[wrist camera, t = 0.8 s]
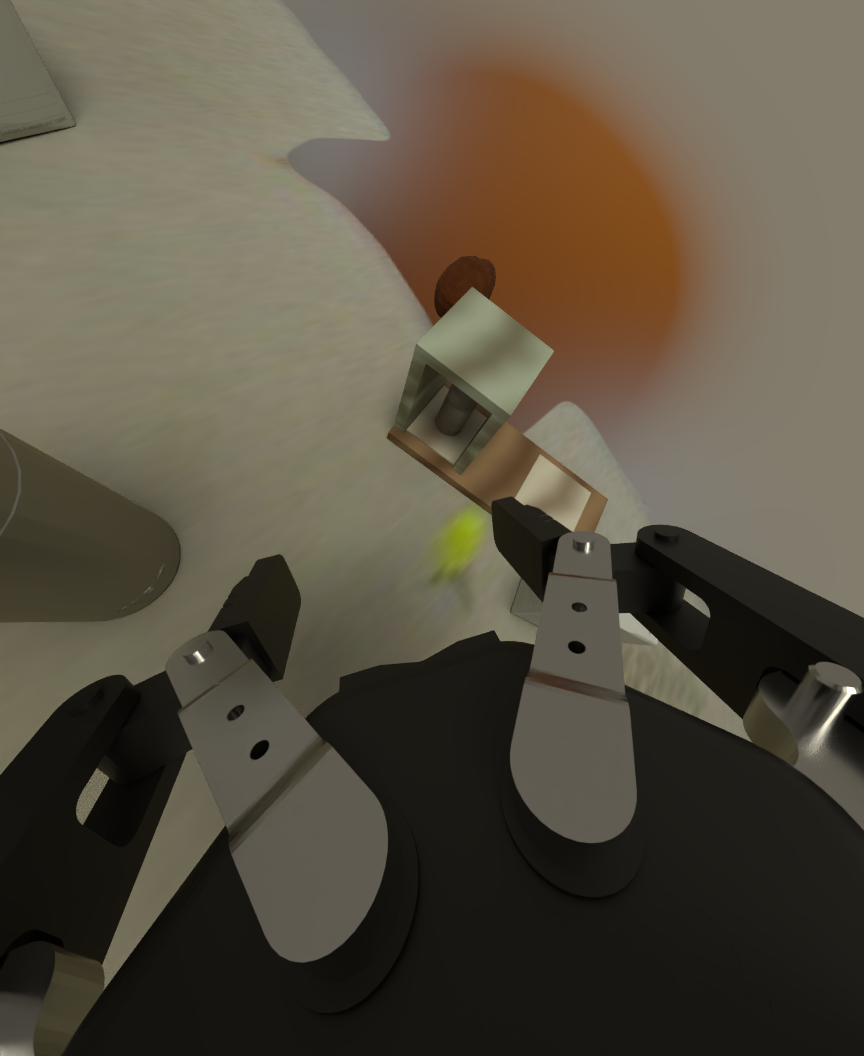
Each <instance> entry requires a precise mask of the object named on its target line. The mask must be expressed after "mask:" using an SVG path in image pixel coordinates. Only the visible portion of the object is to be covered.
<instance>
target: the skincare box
mask: <svg viewBox="0 0 864 1056" xmlns="http://www.w3.org/2000/svg"><path fill="white" fill-rule="evenodd" d="M542 606H543V602H541V600H540V599H539V598H538V597H537V596H536V595H535V593H534V592H533V591H532V590H531V589H530V587H529V586H528V585H527V584H526V583H525V581H524V580H523V579H522V580H521V582H520V585H519V588H518V591H517V594H516V597H515V600H514V603H513V606H512V609H511V612H512V613H513V614H515V615H517V616H519V617H521V618H523V619H525V620H527V621H528V622H530V623H532V624H534V625H536V626H539V621H540V616H541V611H542ZM619 622H620V635H621V643H630V644H639V645H650V646H656V645H657V644H658V639H657V638H655V637H654V636H653V635H652V634H651V633H650V632H649V631H648V630H647V629H646V628H645V627H644V626H643V625H642V624H641V623H640V622H638V621H637V620H636V619H635V618H634V617H633V616H632V615H631V614H630V613H619Z"/></svg>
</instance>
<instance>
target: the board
mask: <svg viewBox="0 0 864 1056" xmlns="http://www.w3.org/2000/svg"><path fill="white" fill-rule="evenodd" d="M553 352H554V351H553V350H552V349H551V348H550V347H548V346H547V345H545V344H544V343H543V342H542V341H541V340H539V339H538V338H537V337H536V336H534V335H533V334H532V333H531V332H529V331H528V330H527V329H525V328H524V327H523V326H521V325H520V324H519V323H518V322H517V321H515V320H514V319H513V318H511V317H510V316H509V315H508V314H506V313H505V312H504V311H502V310H501V309H500V308H499V307H497V306H496V305H495V304H494V303H492V302H491V301H490V300H489V299H487V298H486V297H485V296H484V295H482V294H481V293H480V292H478V291H477V290H476V289H475V288H473V287H472V288H471V289H470V290H469V291H468V292H467V293H466V294H465V295H464V296H463V297H462V298H461V299H460V300H459V301H458V302H457V303H456V304H455V305H454V306H453V307H452V308H451V309H450V310H449V311H448V312H447V313H446V314H445V315H444V316H443V317H442V318H441V319H440V320H439V321H438V322H437V323H436V324H435V325H434V326H433V327H432V328H431V329H430V330H429V331H428V332H427V333H426V334H425V335H424V336H423V337H422V338H421V339H420V340H419V341H418V342H417V343H416V347H415V350H414V354H413V358H412V361H411V365H410V369H409V372H408V376H407V380H406V384H405V387H404V391H403V395H402V398H401V402H400V406H399V409H398V413H397V417H396V421H395V424H394V427H393V428H392V429H391V430H390V431H389V433H388V437H387V439H389V440H390V441H392V442H393V443H394V444H396V445H397V446H398V447H400V448H401V449H403V450H404V451H405V452H407V453H408V454H409V455H411V456H412V457H413V458H415V459H416V460H418V461H419V462H420V463H422V464H423V465H424V466H426V467H427V468H428V469H430V470H431V471H433V472H434V473H435V474H437V475H438V476H439V477H441V478H442V479H444V480H445V481H446V482H448V483H449V484H450V485H452V486H453V487H454V488H456V489H457V490H459V491H460V492H461V493H463V494H464V495H465V496H467V497H468V498H470V499H471V500H472V501H474V502H475V503H476V504H478V505H479V506H480V507H482V508H483V509H485V510H486V511H487V512H489V513H490V514H491V515H492V511H491V503H492V501H494V500H498V499H502V498H505V497H509V496H512V497H513V498H515V499H516V500H517V501H519V502H520V503H521V504H523V505H530V506H533V507H537V508H539V509H541V510H542V511H544V512H545V513H546V514H547V515H549V516H551V517H552V518H553V519H554V520H556V521H558V522H559V523H561V524H562V525H564V526H565V527H566V528H568V529H569V530H571V531H572V532H575V531H587V532H593V533H594V531H595V529H596V527H597V524H598V522H599V520H600V517H601V515H602V513H603V510H604V508H605V505H606V503H607V501H608V499H607V498H606V497H604V496H603V495H602V494H600V493H599V492H598V491H596V490H595V489H594V488H592V487H591V486H590V485H589V484H587V483H586V482H585V481H583V480H582V479H581V478H579V477H578V476H577V475H575V474H574V473H573V472H571V471H570V470H569V469H567V468H566V467H565V466H563V465H562V464H561V463H560V462H558V461H557V460H556V459H554V458H553V457H552V456H550V455H549V454H548V453H546V452H545V451H544V450H542V449H541V448H540V447H538V446H537V445H536V444H534V443H533V442H532V441H531V440H529V439H528V438H527V437H525V436H524V435H523V434H521V433H520V432H519V431H517V430H516V429H515V428H513V427H512V426H511V425H509V424H508V423H507V422H506V420H507V419H508V418H509V417H510V415H511V414H512V412H513V411H514V410H515V408H516V407H517V405H518V404H519V402H520V401H521V399H522V398H523V396H524V394H525V393H526V392H527V390H528V389H529V387H530V386H531V384H532V383H533V381H534V380H535V378H536V377H537V375H538V374H539V372H540V371H541V369H542V368H543V366H544V365H545V363H546V362H547V360H548V359H549V358H550V356H551V354H552V353H553Z"/></svg>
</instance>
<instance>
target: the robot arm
mask: <svg viewBox="0 0 864 1056" xmlns="http://www.w3.org/2000/svg"><path fill="white" fill-rule="evenodd" d="M491 511H492V522H493V533H494V540H495V544H496V546H497V548H498V550H499V552H500V553H501V554H502V555H503V556H504V558H505V559H506V560H507V561H508V562H509V564H510V565H511V566H512V567H513V568H514V569H515V571H516V572H517V573H518V574H519V575H520V577H521V578H522V579H523V580H524V581H525V583H526V584H527V585H528V586H529V587H530V589H531V590H532V591H533V592H534V593H535V595H536V596H537V597H538V598H539V599H540V600H541V602H543V606H542V611H541V616H540V621H539V626H538V631H537V636H536V641H535V645H533V644H528V643H524V642H516V641H500V640H499V638H498V636H497V635H496V633H495V631H494V630H493V631H490V632H487V633H483V634H480V635H477V636H474V637H470V638H467V639H464V640H461V641H458V642H456V643H454V644H452V645H450V646H449V647H447V648H445V649H443V650H442V651H440V652H438V653H436V654H434V655H433V656H431V657H429V658H427V659H425V660H423V661H420V662H412V663H400V664H389V665H379V666H376V667H372V668H369V669H366V670H362V671H359V672H356V673H353V674H349V675H346V676H343V677H340V688H339V692H338V693H336V694H334V695H333V696H331V697H330V698H328V699H327V700H325V701H324V702H323V703H322V704H320V705H319V706H318V707H317V708H316V709H315V710H314V711H312V712H311V713H310V714H309V715H308V716H307V717H306V719H304V718H303V717H302V715H301V714H300V713H299V712H298V711H297V710H296V709H295V707H294V706H293V705H292V704H291V703H290V702H289V701H288V699H287V698H286V697H285V696H284V695H283V694H282V693H281V691H280V690H279V689H278V688H277V687H276V686H275V684H274V683H273V682H275V681H278V680H281V679H283V676H284V672H285V668H286V663H287V659H288V655H289V651H290V647H291V643H292V639H293V635H294V630H295V626H296V622H297V618H298V614H299V610H300V606H301V597H300V592H299V589H298V587H297V585H296V583H295V580H294V578H293V576H292V574H291V572H290V570H289V567H288V565H287V563H286V561H285V559H284V557H283V556H282V555H280V554H279V555H275V556H271V557H267V558H263V559H259V560H257V561H256V563H255V565H254V566H253V568H252V570H251V572H250V574H249V576H246V577H244V578H243V579H242V580H241V581H240V582H239V583H238V584H237V585H236V586H235V587H234V588H233V589H232V591H231V593H230V595H229V596H228V599H227V600H226V601H225V603H224V605H223V608H221V610H220V612H219V613H218V615H217V617H216V618H215V620H214V622H213V624H212V625H211V627H210V629H209V630H208V632H206V633H203V634H201V635H199V636H197V637H195V638H193V639H191V640H189V641H188V642H186V643H185V644H184V645H182V646H181V647H180V648H179V649H177V650H176V651H175V652H174V653H173V654H172V656H171V657H170V658H169V660H168V661H167V664H166V667H165V669H166V671H164V672H161V673H159V674H157V675H155V676H153V677H151V678H149V679H147V680H145V681H143V682H140V683H138V684H136V685H134V686H133V685H132V684H131V683H130V682H129V680H128V679H127V678H126V677H125V676H123V675H112V676H109V677H106V678H103V679H100V680H98V681H96V682H94V683H92V684H90V685H88V686H86V687H85V688H83V689H81V690H80V691H78V692H77V693H75V694H74V695H73V696H71V697H70V698H69V699H67V700H66V701H65V702H64V703H63V704H62V705H61V706H59V707H58V708H57V709H56V711H55V712H54V713H53V714H52V715H51V716H50V717H49V719H48V720H47V721H46V722H45V723H44V724H43V726H42V727H41V728H40V729H39V730H38V731H37V733H36V734H35V735H34V736H33V737H32V738H31V740H30V741H29V742H28V743H27V744H26V746H25V747H24V748H23V749H22V750H21V751H20V753H19V754H18V755H17V756H16V757H15V758H14V760H13V761H12V762H11V763H10V764H9V765H8V767H7V768H6V769H5V770H4V771H3V773H2V774H1V775H0V1056H864V618H863V617H860V616H859V615H857V614H855V613H853V612H851V611H849V610H847V609H845V608H843V607H840V606H838V605H837V604H835V603H832V602H830V601H828V600H826V599H824V598H822V597H820V596H818V595H816V594H814V593H812V592H810V591H808V590H806V589H804V588H802V587H800V586H798V585H796V584H794V583H792V582H790V581H788V580H786V579H784V578H782V577H780V576H778V575H776V574H774V573H772V572H770V571H768V570H766V569H764V568H762V567H760V566H758V565H756V564H754V563H752V562H750V561H748V560H746V559H744V558H742V557H740V556H738V555H736V554H734V553H732V552H730V551H728V550H726V549H724V548H722V547H720V546H718V545H716V544H714V543H712V542H710V541H708V540H706V539H704V538H702V537H700V536H698V535H696V534H694V533H692V532H690V531H688V530H685V529H682V528H679V527H676V526H670V525H650V526H646V527H643V528H641V529H640V530H639V531H638V533H637V539H636V542H634V543H620V544H610V542H609V540H608V539H607V538H605V537H604V536H602V535H600V534H597V533H593V532H587V531H575V532H572V531H571V530H569V529H568V528H566V527H565V526H564V525H562V524H561V523H559V522H558V521H556V520H554V519H553V518H552V517H551V516H549V515H547V514H546V513H545V512H544V511H542V510H541V509H539V508H537V507H533V506H530V505H523V504H521V503H520V502H519V501H517V500H516V499H515V498H513V497H512V496H509V497H505V498H502V499H498V500H494V501H492V503H491ZM179 560H180V548H179V544H178V539H177V537H176V535H175V533H174V532H173V530H172V528H171V527H170V526H169V525H168V524H167V523H166V522H165V521H164V520H163V519H161V518H160V517H158V516H156V515H155V514H153V513H151V512H150V511H148V510H146V509H144V508H142V507H141V506H139V505H137V504H135V503H133V502H132V501H130V500H128V499H127V498H125V497H123V496H121V495H120V494H118V493H116V492H114V491H112V490H111V489H109V488H107V487H105V486H103V485H102V484H100V483H98V482H96V481H94V480H93V479H91V478H89V477H87V476H85V475H83V474H82V473H80V472H78V471H76V470H74V469H73V468H71V467H69V466H67V465H65V464H64V463H62V462H60V461H58V460H56V459H55V458H53V457H51V456H49V455H47V454H46V453H44V452H42V451H40V450H38V449H37V448H35V447H33V446H31V445H29V444H28V443H26V442H24V441H22V440H20V439H18V438H17V437H15V436H13V435H11V434H9V433H8V432H6V431H4V430H2V429H0V622H84V621H107V620H111V619H116V618H120V617H123V616H126V615H129V614H131V613H134V612H136V611H138V610H140V609H141V608H143V607H145V606H147V605H148V604H150V603H151V602H152V601H154V600H155V599H156V598H157V597H158V596H159V595H161V594H162V592H163V591H164V590H165V589H166V588H167V586H168V585H169V584H170V583H171V581H172V579H173V577H174V575H175V573H176V571H177V568H178V564H179ZM686 588H687V589H688V590H690V591H691V592H693V593H694V594H696V595H697V596H698V597H700V598H701V599H702V600H703V601H704V602H705V603H706V605H707V606H708V608H709V611H710V618H709V617H707V616H706V615H704V614H703V613H702V612H700V611H699V610H698V609H696V608H695V607H693V606H692V605H691V604H689V603H688V602H687V601H685V600H684V599H683V597H684V593H685V590H686ZM619 613H630V614H631V615H632V616H633V617H634V618H635V619H636V620H637V621H638V622H640V623H641V624H642V625H643V626H644V627H645V628H646V629H647V630H648V631H649V632H650V633H651V634H652V635H653V636H654V637H655V638H657V639H658V640H659V641H660V642H661V643H662V644H663V645H664V646H665V647H666V648H667V649H668V650H669V651H670V652H671V653H673V654H674V655H675V656H676V657H677V658H678V659H679V660H680V661H681V662H682V663H683V664H684V665H685V666H686V667H687V668H689V669H690V670H691V671H692V672H693V673H694V674H695V675H696V676H697V677H698V678H699V679H700V680H701V681H702V682H703V683H704V684H706V685H707V686H708V687H709V688H710V689H711V690H712V691H713V692H714V693H715V694H716V695H717V696H718V697H719V698H720V699H722V700H723V701H724V702H725V703H726V704H727V705H728V706H729V707H730V708H731V709H732V710H733V711H734V712H735V713H736V714H737V715H739V716H740V717H741V718H742V719H743V725H744V728H745V731H746V733H747V735H748V737H749V738H750V740H751V741H752V742H753V743H752V742H750V741H748V740H745V739H743V738H741V737H739V736H737V735H734V734H732V733H730V732H728V731H726V730H723V729H721V728H719V727H717V726H715V725H712V724H710V723H708V722H706V721H704V720H701V719H699V718H697V717H695V716H693V715H690V714H688V713H686V712H684V711H682V710H679V709H677V708H675V707H673V706H670V705H668V704H666V703H664V702H662V701H660V700H657V699H655V698H653V697H651V696H649V695H646V694H644V693H642V692H640V691H638V690H635V689H633V688H631V687H629V686H627V685H624V674H623V661H622V648H621V635H620V622H619ZM191 749H193V750H194V753H195V755H196V757H197V760H198V762H199V764H200V767H201V769H202V771H203V774H204V776H205V778H206V781H207V783H208V785H209V787H210V790H211V792H212V794H213V797H214V799H215V801H216V804H217V806H218V808H219V811H220V813H221V815H222V818H223V820H224V822H225V827H224V828H223V829H222V831H221V832H220V834H219V835H218V836H217V838H216V839H215V840H214V842H213V843H212V844H211V846H210V847H209V848H208V850H207V851H206V853H205V854H204V855H203V857H202V858H201V859H200V861H199V862H198V863H197V865H196V866H195V867H194V869H193V870H192V872H191V873H190V874H189V876H188V877H187V878H186V880H185V881H184V882H183V884H182V885H181V886H180V888H179V889H178V891H177V892H176V893H175V895H174V896H173V897H172V899H171V900H170V901H169V903H168V904H167V905H166V907H165V908H164V910H163V911H162V912H161V914H160V915H159V916H158V918H157V919H156V920H155V922H154V923H153V924H152V926H151V927H150V929H149V930H148V931H147V933H146V934H145V935H144V937H143V938H142V939H141V941H140V942H139V943H138V945H137V946H136V948H135V949H134V950H133V952H132V953H131V954H130V956H129V957H128V958H127V960H126V961H125V962H124V964H123V965H122V966H121V968H120V969H119V971H118V972H117V973H116V975H115V976H114V977H113V979H112V980H111V981H110V983H109V984H108V985H107V987H106V988H105V990H104V979H105V976H104V970H103V967H102V964H103V961H104V959H105V956H106V954H107V951H108V949H109V946H110V944H111V941H112V939H113V936H114V934H115V931H116V929H117V926H118V924H119V921H120V919H121V916H122V914H123V911H124V909H125V906H126V904H127V901H128V899H129V896H130V894H131V891H132V889H133V886H134V884H135V881H136V879H137V876H138V874H139V871H140V869H141V866H142V863H143V861H144V858H145V856H146V853H147V851H148V848H149V846H150V843H151V841H152V838H153V836H154V833H155V831H156V828H157V826H158V823H159V821H160V818H161V816H162V813H163V811H164V808H165V806H166V803H167V801H168V798H169V796H170V793H171V791H172V788H173V786H174V783H175V781H176V778H177V776H178V773H179V771H180V768H181V766H182V763H183V761H184V758H185V756H186V753H187V752H188V751H190V750H191ZM96 768H98V769H99V770H100V771H102V772H103V773H104V774H105V775H107V776H108V777H109V780H108V782H107V784H106V785H105V787H104V789H103V791H102V792H101V794H100V796H99V798H98V799H97V801H96V803H95V805H94V806H93V808H92V810H91V812H90V813H89V815H88V817H87V819H86V820H85V822H84V824H83V825H82V824H81V823H80V822H79V821H78V819H77V816H76V806H77V802H78V799H79V796H80V794H81V792H82V791H83V789H84V788H85V786H86V784H87V783H88V781H89V779H90V778H91V776H92V775H93V773H94V771H95V770H96ZM103 990H104V991H103Z"/></svg>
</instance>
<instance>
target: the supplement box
mask: <svg viewBox="0 0 864 1056" xmlns="http://www.w3.org/2000/svg"><path fill="white" fill-rule="evenodd" d="M75 125H76V124H75V122H74V120H73V118H72V116H71V114H70V112H69V110H68V108H67V106H66V104H65V103H64V101H63V99H62V97H61V95H60V93H59V91H58V89H57V87H56V85H55V84H54V82H53V80H52V78H51V76H50V74H49V72H48V70H47V68H46V67H45V65H44V63H43V61H42V59H41V57H40V55H39V53H38V51H37V49H36V48H35V46H34V44H33V42H32V40H31V38H30V36H29V34H28V33H27V31H26V29H25V27H24V25H23V23H22V21H21V19H20V17H19V16H18V14H17V12H16V10H15V8H14V6H13V4H12V2H11V1H10V0H0V142H3V141H7V140H12V139H16V138H21V137H25V136H30V135H34V134H39V133H44V132H48V131H53V130H57V129H63V128H69V127H73V126H75Z"/></svg>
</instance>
